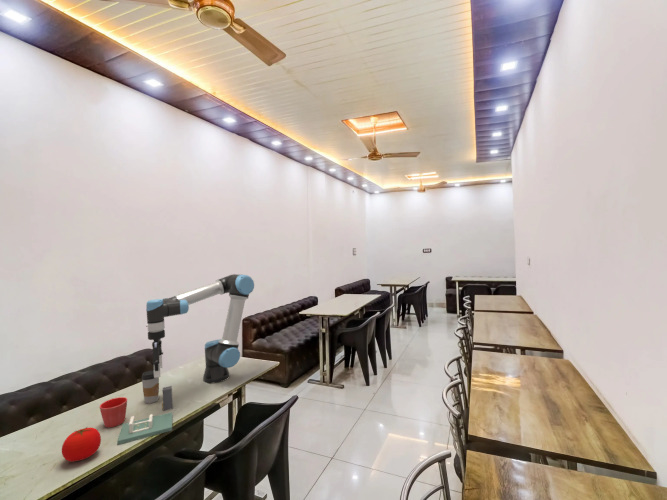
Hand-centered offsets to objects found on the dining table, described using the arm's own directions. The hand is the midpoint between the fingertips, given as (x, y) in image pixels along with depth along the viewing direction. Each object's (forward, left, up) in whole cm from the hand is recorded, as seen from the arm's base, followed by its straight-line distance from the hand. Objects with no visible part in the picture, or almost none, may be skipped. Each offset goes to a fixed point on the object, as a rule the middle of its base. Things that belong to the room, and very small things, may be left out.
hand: (158, 372), depth 161 cm
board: (+4, +19, -18) cm, 27 cm away
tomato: (+25, +29, -18) cm, 43 cm away
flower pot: (+18, +5, -18) cm, 26 cm away
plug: (-4, +2, -18) cm, 18 cm away
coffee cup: (+4, -12, -18) cm, 22 cm away
